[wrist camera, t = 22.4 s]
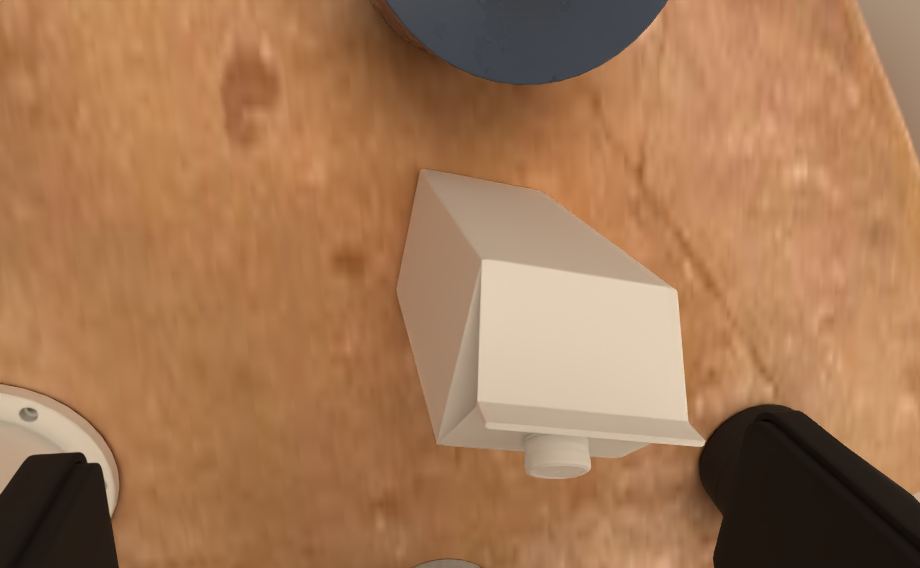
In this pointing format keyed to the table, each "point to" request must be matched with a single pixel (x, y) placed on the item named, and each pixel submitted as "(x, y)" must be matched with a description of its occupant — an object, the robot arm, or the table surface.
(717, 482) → the pen holder
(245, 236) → the table surface
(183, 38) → the table surface
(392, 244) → the table surface
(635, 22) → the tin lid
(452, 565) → the glass holder
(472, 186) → the milk carton
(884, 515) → the robot arm
